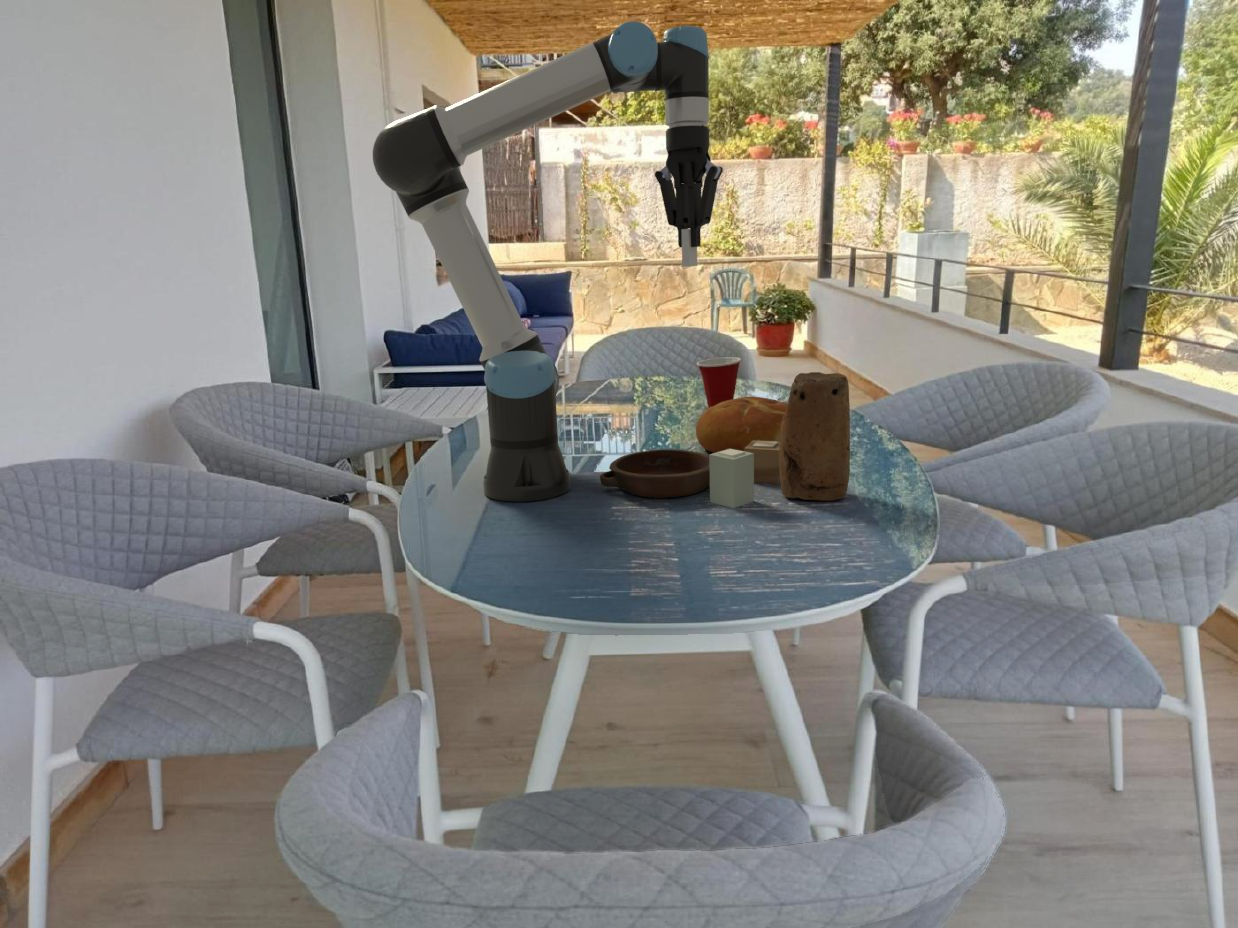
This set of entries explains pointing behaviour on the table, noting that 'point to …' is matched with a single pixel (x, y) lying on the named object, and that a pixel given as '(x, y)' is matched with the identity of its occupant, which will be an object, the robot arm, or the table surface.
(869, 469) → the table surface
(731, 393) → the plastic cup
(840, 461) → the brown pitted rock
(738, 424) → the bread
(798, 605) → the table surface
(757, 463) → the walnut cube
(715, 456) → the grey-green post
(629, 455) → the dish
